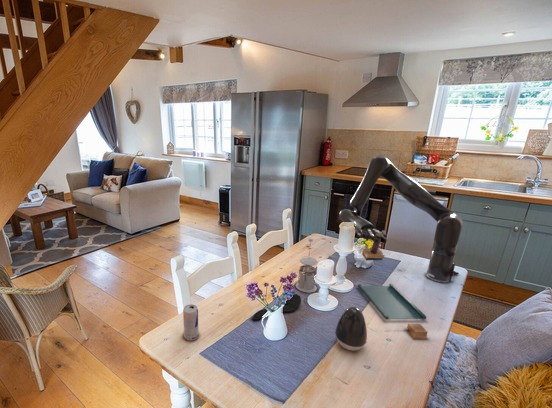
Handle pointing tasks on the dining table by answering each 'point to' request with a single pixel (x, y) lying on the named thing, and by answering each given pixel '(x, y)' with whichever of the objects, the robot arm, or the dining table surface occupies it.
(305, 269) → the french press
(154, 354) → the dining table surface
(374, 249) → the wooden dowel stand
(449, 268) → the robot arm
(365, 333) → the black egg shaped diffuser
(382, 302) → the tray
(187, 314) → the energy drink
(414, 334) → the cork chunk
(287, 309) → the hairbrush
